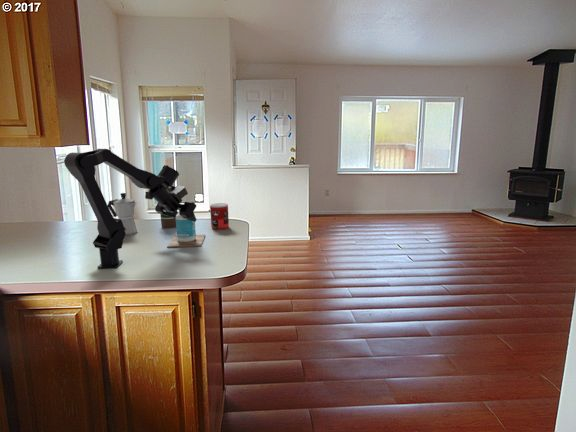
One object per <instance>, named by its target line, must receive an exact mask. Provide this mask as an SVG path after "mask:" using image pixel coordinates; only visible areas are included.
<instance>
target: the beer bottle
mask: <svg viewBox="0 0 576 432" xmlns="http://www.w3.org/2000/svg"><path fill="white" fill-rule="evenodd" d="M165 188H166V187H165ZM166 189H167V190H168V191H169V187H168V188H166ZM176 211H177V213H179V211H178V210H176ZM159 214H160V213H159ZM160 223H161V227H162V228H164V229H172V228H176V218H173V217H170V216H166V215H163V214H160Z"/></svg>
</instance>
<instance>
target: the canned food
mask: <svg viewBox="0 0 576 432" xmlns="http://www.w3.org/2000/svg"><path fill="white" fill-rule="evenodd" d="M209 209H210V224H211V225H210V226H211V229H212V230H214V229H219V230H220V229H223V230H226V229H228V228H229V226H230V225H229V224H230V221H229V204H228V203H225V202H220V203H219V202H218V203H211V204H210V205H209ZM219 230H218V231H219ZM220 231H221V230H220Z"/></svg>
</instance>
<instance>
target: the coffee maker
mask: <svg viewBox="0 0 576 432" xmlns="http://www.w3.org/2000/svg"><path fill="white" fill-rule="evenodd" d="M120 197H121V198H120V199H119V198H116V199H112V200H109V201H108V202H107V205H108V208H109V210H110V212H111V214H112V216H113V217H114V218H117V219H121V220H122V223H123V226H124V228H125V229H126V230H125V233H126V236H131V235H135V234H137V233H138V229H137V225H136V221H135V218H134V215H135V207H136V204H137V202H136V201H135V199H131V198H127V192H122V193H120ZM113 207H114V208H113Z"/></svg>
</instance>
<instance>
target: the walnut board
mask: <svg viewBox="0 0 576 432" xmlns="http://www.w3.org/2000/svg"><path fill="white" fill-rule="evenodd" d="M205 237H206V234H196V239H195V240H194V241H191V242H179V241H178V240H177V235H173V237H172V238H171V240H170V241H169V243H168V244H167V246H166V248H167V249H169V248H170V249H174V248H175V249H177V248H194V247H195V248H196V247H198V248H199V246H201V245H203V243H204V240H205ZM201 247H202V246H201Z"/></svg>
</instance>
